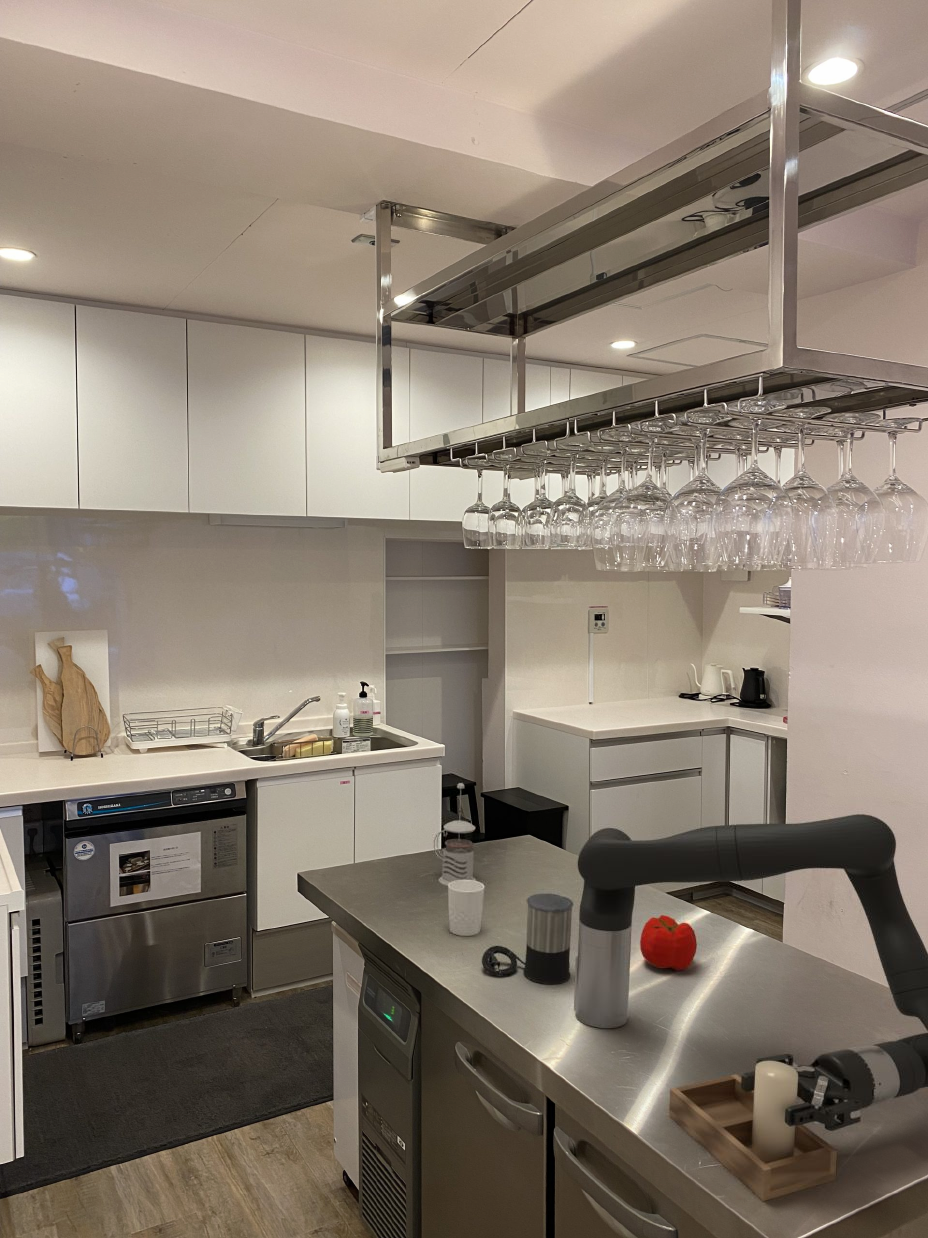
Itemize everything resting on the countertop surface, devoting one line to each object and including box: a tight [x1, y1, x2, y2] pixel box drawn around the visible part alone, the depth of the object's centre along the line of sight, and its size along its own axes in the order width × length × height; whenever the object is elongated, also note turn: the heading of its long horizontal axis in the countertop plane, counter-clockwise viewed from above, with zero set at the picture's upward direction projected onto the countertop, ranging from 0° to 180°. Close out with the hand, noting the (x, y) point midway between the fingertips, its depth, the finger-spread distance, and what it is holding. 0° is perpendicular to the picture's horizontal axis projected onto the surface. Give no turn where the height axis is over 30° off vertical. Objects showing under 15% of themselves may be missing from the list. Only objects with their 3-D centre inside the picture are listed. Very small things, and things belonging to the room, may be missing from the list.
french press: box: [433, 782, 477, 887], centre depth 240 cm, size 10×12×25 cm
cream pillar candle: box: [751, 1061, 798, 1164], centre depth 126 cm, size 5×5×12 cm
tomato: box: [639, 914, 698, 971], centre depth 192 cm, size 11×12×9 cm
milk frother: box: [481, 892, 574, 985], centre depth 185 cm, size 14×16×15 cm
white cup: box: [447, 880, 485, 937], centre depth 206 cm, size 8×8×10 cm
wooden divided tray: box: [668, 1073, 838, 1202], centre depth 131 cm, size 20×12×4 cm, turn 23°
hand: (764, 1100), depth 125 cm, fingers open, 8 cm apart
